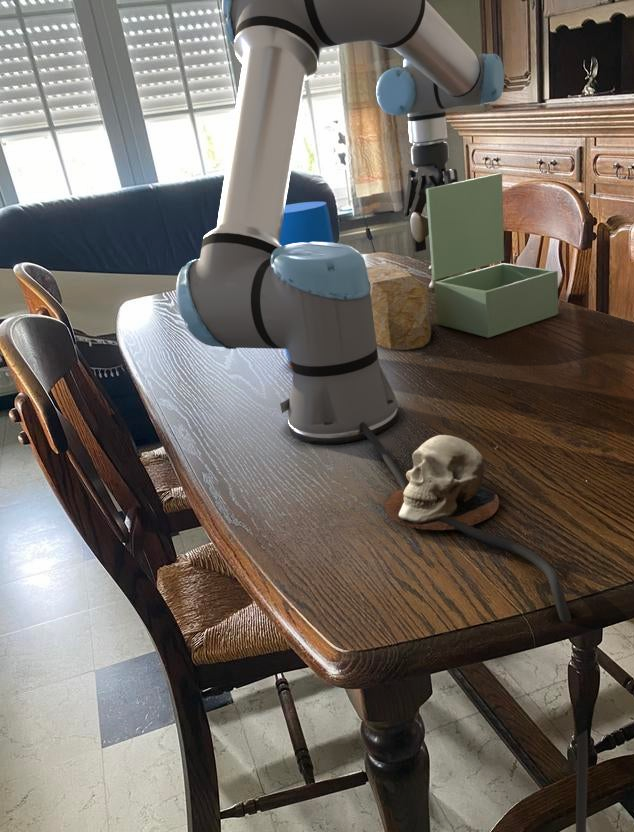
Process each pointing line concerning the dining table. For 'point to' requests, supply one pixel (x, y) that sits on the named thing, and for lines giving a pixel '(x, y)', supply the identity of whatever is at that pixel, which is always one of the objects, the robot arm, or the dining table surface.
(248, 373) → the dining table surface
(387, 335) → the bread
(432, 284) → the kendama
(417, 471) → the skull
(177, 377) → the dining table surface
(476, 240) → the chest lid
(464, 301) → the chest
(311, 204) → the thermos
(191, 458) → the dining table surface
